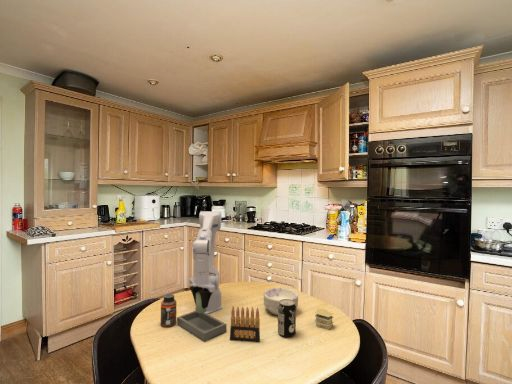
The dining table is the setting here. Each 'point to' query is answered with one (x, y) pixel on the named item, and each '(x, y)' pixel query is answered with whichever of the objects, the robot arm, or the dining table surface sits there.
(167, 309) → the supplement bottle
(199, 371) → the dining table surface
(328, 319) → the layered tan block
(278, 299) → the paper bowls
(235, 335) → the ammunition clip
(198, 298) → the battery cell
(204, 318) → the trough
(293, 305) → the beverage can
